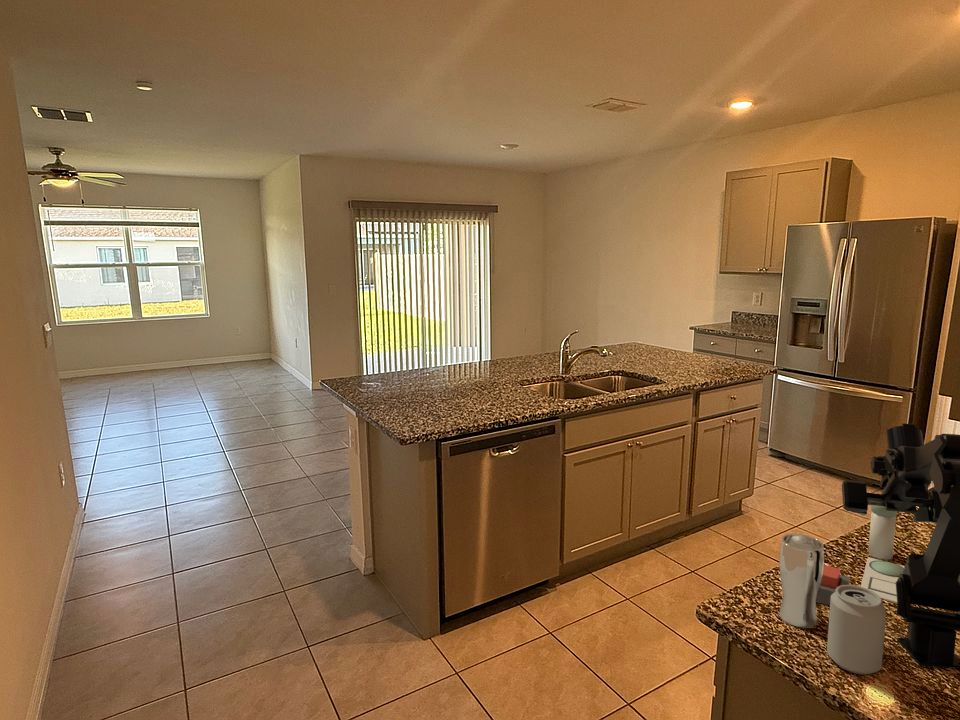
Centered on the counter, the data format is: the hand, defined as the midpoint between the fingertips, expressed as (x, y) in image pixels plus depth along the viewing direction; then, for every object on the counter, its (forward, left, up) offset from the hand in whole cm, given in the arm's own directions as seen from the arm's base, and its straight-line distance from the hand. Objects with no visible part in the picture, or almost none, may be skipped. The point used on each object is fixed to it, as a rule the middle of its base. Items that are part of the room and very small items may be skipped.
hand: (888, 516), depth 120 cm
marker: (+4, -1, -11) cm, 11 cm away
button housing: (-14, +18, -11) cm, 25 cm away
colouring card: (-7, +3, -11) cm, 13 cm away
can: (-34, +22, -11) cm, 41 cm away
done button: (-14, +18, -9) cm, 24 cm away
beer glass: (-22, +26, -11) cm, 36 cm away
